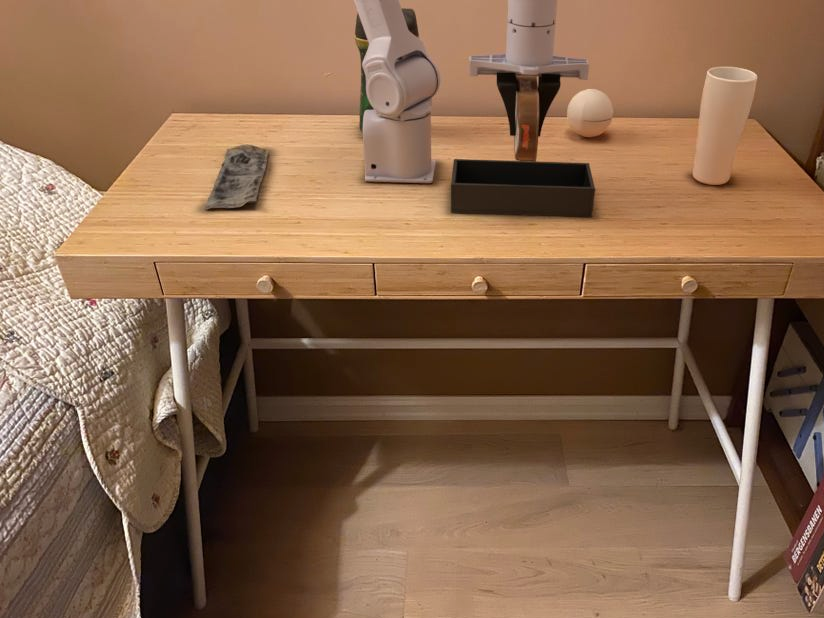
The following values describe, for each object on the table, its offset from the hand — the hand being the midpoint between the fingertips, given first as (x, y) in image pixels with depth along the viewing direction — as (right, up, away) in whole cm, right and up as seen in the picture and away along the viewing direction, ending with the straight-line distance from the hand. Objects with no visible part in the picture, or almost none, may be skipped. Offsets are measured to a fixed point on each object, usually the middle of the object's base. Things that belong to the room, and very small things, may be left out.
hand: (524, 133), depth 102 cm
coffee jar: (-20, +7, +25) cm, 33 cm away
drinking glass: (+28, -3, +13) cm, 31 cm away
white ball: (+13, +7, +26) cm, 30 cm away
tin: (0, -2, +1) cm, 2 cm away
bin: (0, -8, +5) cm, 9 cm away
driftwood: (-39, -4, +9) cm, 41 cm away
